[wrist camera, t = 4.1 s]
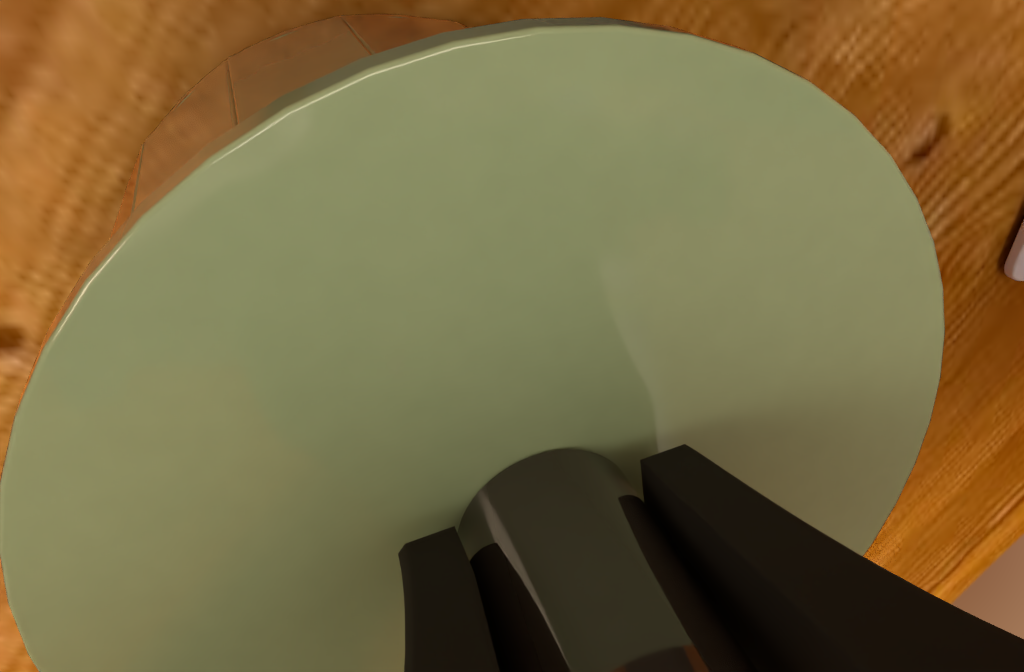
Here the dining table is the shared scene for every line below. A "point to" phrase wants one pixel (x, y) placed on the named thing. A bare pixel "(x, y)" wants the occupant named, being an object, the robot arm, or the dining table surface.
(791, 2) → the dining table surface
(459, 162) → the lid
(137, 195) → the pot
